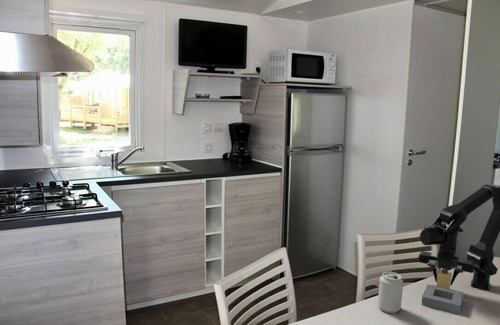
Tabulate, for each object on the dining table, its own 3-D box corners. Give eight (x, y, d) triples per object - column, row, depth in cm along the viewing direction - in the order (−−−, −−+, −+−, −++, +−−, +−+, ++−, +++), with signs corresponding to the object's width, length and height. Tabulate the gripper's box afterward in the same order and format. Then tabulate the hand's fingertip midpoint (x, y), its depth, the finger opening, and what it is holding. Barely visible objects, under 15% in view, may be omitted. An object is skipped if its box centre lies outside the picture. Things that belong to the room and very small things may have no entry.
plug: (437, 286, 168) (439, 266, 166) (449, 289, 166) (452, 268, 164) (435, 290, 164) (437, 270, 163) (448, 293, 162) (451, 273, 161)
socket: (426, 291, 163) (427, 283, 162) (462, 299, 157) (463, 292, 157) (421, 304, 153) (422, 296, 152) (459, 314, 147) (460, 305, 146)
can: (402, 315, 145) (405, 281, 143) (378, 312, 146) (381, 278, 144) (399, 304, 152) (402, 271, 150) (376, 302, 154) (379, 269, 152)
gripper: (417, 244, 159) (413, 285, 162) (475, 255, 150) (470, 298, 153) (422, 236, 169) (418, 274, 172) (476, 245, 160) (472, 286, 163)
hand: (443, 283), depth 164 cm, fingers open, 5 cm apart
